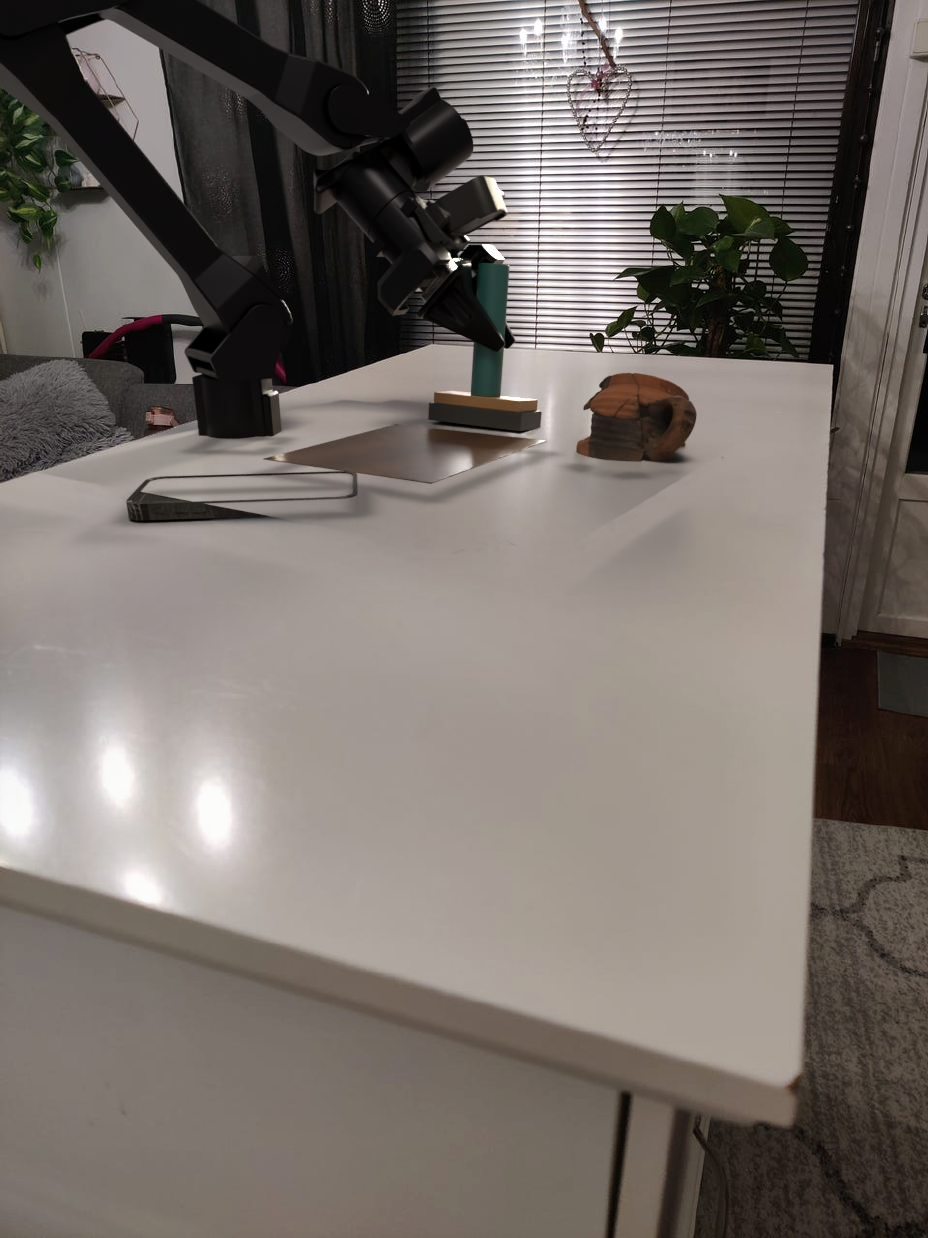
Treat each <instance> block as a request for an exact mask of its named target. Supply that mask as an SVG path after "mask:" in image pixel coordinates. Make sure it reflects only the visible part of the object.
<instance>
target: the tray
mask: <svg viewBox="0 0 928 1238" xmlns="http://www.w3.org/2000/svg"><path fill="white" fill-rule="evenodd" d="M545 442H547V440H545V439H544V440H543V439H536V438H526V437H517V436H509V435H499V434H488V433H481V432H480V433H479V432H471V431H463V430H454V429H453V430H452V429H444V428H443V429H442V428H434V427H425V426H416V425H407V424H395V423H394V424H392V425H387V426H384V427H379V428H376V429H372V430H369V431H364V432H360V433H357V434H353V435H349V436H345V437H342V438H337V439H334V440H329V441H327V442H323V443H318V444H314V445H311V446H307V447H303V448H298V449H296V450H291V451H287V452H284V453H280V454H276V455H272V456H268V457H265V458H264V457H263V460H267V461H272V462H280V463H285V464H292V465H293V464H294V465H300V466H305V467H314V468H318V469H319V468H320V469H321V468H322V469H326V470H333V471H350V472H355V473H356V474H361V475H370V476H376V477H383V478H389V479H395V480H402V481H409V482H416V483H423V484H431V485H433V484H434V483H435V484H436V483H437V482H441V481H443V480H446V479H449V478H451V477H454V476H456V475H460V474H461V473H464V472H468V471H469V470H472V469H475V468H478V467H480V466H483V465H486V464H488V463H491V462H494V461H497V460H499V459H502V458H505V457H507V456H510V455H513V454H515V453H518V452H521V451H524V450H527V449H529V448H533V447H535V446H537V445H541V444H543V443H545Z"/></svg>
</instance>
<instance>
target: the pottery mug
mask: <svg viewBox="0 0 928 1238" xmlns="http://www.w3.org/2000/svg"><path fill="white" fill-rule="evenodd" d="M598 387H599V388H600V390H599V391H597V392H595V393H594V395H593V396H592V397H590V398H589V399H588V401H587V402H586V403H585V404H584V405H583V409H582V410H583V411H586V410H590V411H591V413H592V414H591V418H590V419H591V420H590V422H591V425H590V435H589V436H587V437H585V438H583V439H580V440H578V442H577V443H576V453H577V454H578V455H581V456H583V457H587V458H592V459H597V460H604V461H612V462H613V461H614V462H635V463H636V462H638V463H639V462H641V461H642V458H643V455H644V453H645V452H646V455H647V456H648V458H649V460H650V461H651V462H656V463H657V462H667V461H671V460H672V459H673V458H674V455H675V454H676V452H677V451H678V450H679V449H680V448H684V447H686V441H687V440H688V439H689V437H690V435H692V432H693V430H694V428H695V425H696V422H697V414H698V413H697V410H696V407H695V405H694V403H693V402H692V401H691V400H690V396H689V394H688V393H687V391H685V390H684V389H683V388H682V387H681V386H679V385H678V384H676V383H675V382H673V381H670V380H667V379H664V378H661V377H658V376H655V375H650V374H645V373H640V372H639V373H638V372H633V373H632V372H619V373H615V374H612V375H608V376H605V377H604V378H603V379H602V381H600V383H599V384H598Z"/></svg>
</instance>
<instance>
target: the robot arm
mask: <svg viewBox="0 0 928 1238" xmlns="http://www.w3.org/2000/svg"><path fill="white" fill-rule="evenodd" d="M106 20H108V21H109V22H110V21H111V22H113V23H114V24H117V25H119V26H120V27H122V28H124V29H125V30H127V31H128V32H131V33H132V34H134V35H136V36H138V37H139V38H141V39H142V40H145V41H147V42H148V43H150V44H151V45H153V46H154V47H156V48H158V49H159V50H162V51H164V52H165V53H167V54H169V55H170V56H172V57H174V58H176V59H178V60H179V61H181V62H182V63H184V64H186V65H188V66H190V67H191V68H193V69H195V70H197V71H198V72H200V73H202V74H204V75H205V76H207V77H209V78H211V79H212V80H213V81H216V82H218V83H219V84H221V85H223V86H225V87H226V88H228V89H230V90H231V91H233V92H234V93H236V94H238V95H240V96H242V97H243V98H245V99H246V100H248V101H249V102H250V103H252V104H253V105H254V106H255V107H256V108H257V109H259V111H260V112H261V113H262V114H263V115H264V116H265V117H266V119H268V121H269V122H270V123H271V125H272V126H273V127H274V128H276V129H277V130H278V131H279V132H280V133H282V135H284V136H286V137H287V138H288V139H289V140H290V141H291V142H293V144H295V145H296V146H297V147H299V148H300V149H301V150H302V151H305V152H306V153H308V154H311V155H314V156H319V157H323V156H328V155H332V154H337V153H341V152H344V151H349V150H352V149H355V148H358V147H362V146H366V145H370V144H374V143H378V142H379V143H378V144H377V145H375V147H373V148H371V149H369V150H366V151H364V152H360V151H354V152H352V153H351V154H350V155H348V156H347V157H346V158H344V159H343V160H342V161H340V162H338V164H336V165H335V166H333V167H330V168H323V169H322V168H315V169H314V170H313V181H312V183H313V184H312V185H313V187H314V201H313V204H314V205H313V210H314V212H315V213H316V214H318V215H321V214H323V213H324V212H325V211H326V210H328V209H329V208H331V207H332V206H333V205H334V204H336V203H337V204H338V205H339V206H340V207H341V208H342V210H344V212H346V214H347V215H348V216H349V217H350V219H352V220H353V222H354V223H355V224H356V225H357V226H358V227H359V228H360V230H361V231H362V232H363V233H364V235H366V237H367V238H368V239H369V240H370V241H371V242H372V243H371V245H369V247H368V250H370V251H371V253H372V254H373V255H374V256H375V257H377V258H386V259H387V260H388V261H389V263H390V264H391V265H390V267H389V268H388V269H387V270H386V272H385V273H384V274H383V275H382V277H381V278H380V279H379V280H378V281H377V283H376V284H377V300H378V301H379V302H380V303H381V304H382V306H383V307H384V308H385V309H386V310H387V311H388V312H389V313H390V314H391V316H392V317H394V316H400V315H406V313H407V312H408V311H409V309H410V308H409V305H408V302H407V300H408V299H409V298H410V297H411V296H412V295H413V294H414V293H415V292H422V294H421V295H420V298H421V299H422V300H423V301H424V302H425V303H424V304H423V305H422V306H421V307H420V308H419V309H418V310H417V312H416V313H415V315H416V317H417V318H419V319H420V320H425V321H428V322H430V323H431V324H434V325H437V326H439V327H442V328H443V329H446V330H448V331H450V332H453V333H455V334H457V335H459V336H461V337H463V338H466V339H468V340H470V341H471V342H473V343H474V342H476V343H478V344H480V345H482V346H485V347H487V348H489V349H491V350H493V351H495V352H499V351H500V350H501V349H502V348H503V347H504V349H506V350H508V349H510V348H511V347H513V345H514V344H515V343H516V338H515V335H514V334H513V332H512V329H511V328H510V325H509V324H508V322H507V321H506V325H505V339H503V338H502V336H501V334H500V333H499V331H498V329H497V328H496V326H495V325H494V323H493V322H492V320H491V319H490V317H489V315H488V314H487V312H486V311H485V309H484V308H483V306H482V305H481V303H480V302H479V300H478V299H477V297H476V294H477V278H478V264H479V263H493V264H504V262H505V260H506V259H505V258H504V256H502V254H501V253H500V252H499V251H498V249H496V247H495V246H494V245H493V244H470V242H471V241H472V240H471V239H470V238H469V236H468V235H469V234H471V233H474V232H475V231H477V230H479V229H481V228H482V227H484V226H486V225H488V224H490V223H492V222H493V221H495V222H498V221H500V220H502V219H503V218H506V217H507V216H508V215H509V212H508V210H507V207H506V204H505V202H504V200H505V198H506V194H505V192H504V191H503V190H501V189H500V188H499V187H498V184H497V181H496V179H495V177H490V176H487V175H478V176H476V177H474V178H472V179H470V180H468V181H466V182H463V184H461V185H459V186H458V187H456V188H454V189H453V190H450V191H449V192H448V193H445V194H443V195H442V196H440V197H439V198H438V199H436V200H434V199H433V200H432V199H424V198H423V199H422V198H421V197H420V196H419V195H418V193H417V192H419V193H426V192H427V191H429V190H430V189H431V188H433V187H434V186H435V185H436V184H438V183H439V182H440V181H441V180H443V179H445V177H446V176H448V175H449V174H450V173H452V172H453V171H454V170H456V169H457V168H459V167H460V166H461V165H462V164H464V163H465V162H466V161H468V160H469V159H470V158H471V157H472V156H473V154H474V149H475V148H474V139H473V135H472V132H471V129H470V126H469V124H468V122H467V120H466V118H463V117H462V116H461V115H460V112H458V111H457V109H456V108H455V107H454V106H453V105H451V104H450V103H449V102H447V101H446V100H444V99H442V97H441V95H440V93H439V90H438V89H437V87H435V86H433V87H430V88H426V89H424V90H422V91H421V92H420V93H419V92H418V94H417V95H415V96H414V98H413V99H412V100H411V102H409V103H408V104H407V105H406V106H404V107H403V108H401V109H400V110H399V111H397V110H395V109H393V108H392V107H390V106H388V105H387V104H385V103H383V102H381V101H380V100H378V99H376V98H374V97H373V96H370V95H369V90H368V88H367V87H366V85H365V84H364V82H363V81H362V80H360V79H359V78H358V77H357V76H356V75H354V74H353V73H351V72H348V71H346V70H344V69H341V68H339V67H336V66H334V65H331V64H329V63H326V62H325V61H321V60H319V59H317V58H316V59H315V58H312V57H308V56H303V55H299V54H295V53H291V52H288V51H286V50H282V49H281V48H278V47H275V46H273V45H272V44H270V43H268V42H267V41H265V40H263V39H262V38H260V37H259V36H257V35H256V34H254V33H252V32H251V31H249V30H248V29H246V28H244V27H243V26H241V25H240V24H238V23H236V22H235V21H233V20H232V19H231V18H228V17H227V16H226V15H224V14H222V13H221V12H219V11H217V10H216V9H214V8H212V7H211V6H210V5H208V4H206V3H205V2H203V1H201V0H0V88H2V89H3V91H5V92H6V93H8V95H10V96H11V97H13V98H14V99H16V100H17V101H18V102H19V103H21V104H22V105H24V106H25V107H26V108H27V109H29V110H30V111H31V112H33V113H34V114H36V115H37V116H38V117H39V118H41V119H42V120H43V121H45V123H47V125H49V126H50V128H51V129H52V130H53V131H54V132H55V133H56V134H57V135H58V137H59V138H60V139H61V141H63V142H64V144H65V145H66V146H67V147H68V149H70V151H71V152H72V153H73V154H74V156H75V157H76V158H77V159H78V161H80V162H81V164H82V165H83V166H84V167H85V169H86V170H87V171H88V172H89V173H90V174H91V175H92V176H93V178H94V179H95V180H96V181H97V183H98V184H99V185H100V186H101V187H102V188H103V190H104V191H105V192H106V193H107V194H108V195H109V196H110V198H111V199H112V200H113V201H114V203H116V205H117V206H118V207H119V208H120V209H121V211H122V212H123V213H124V214H125V215H126V216H127V218H128V219H129V221H131V222H132V224H134V226H135V227H136V228H137V230H138V231H139V232H140V233H141V234H142V236H143V237H145V239H146V240H147V241H148V243H150V245H151V246H152V247H153V248H154V249H155V251H157V253H158V254H159V255H160V256H161V258H162V259H163V260H164V261H165V262H166V264H167V265H168V266H169V267H170V269H172V270H173V272H174V273H175V274H176V275H177V277H178V279H179V281H180V282H181V284H182V287H183V288H184V290H185V293H186V296H187V297H188V299H189V301H190V304H191V306H192V308H193V310H194V311H195V313H196V315H197V316H198V318H199V319H200V321H201V323H202V324H203V326H202V328H201V329H200V330H199V331H198V333H197V334H196V335H195V337H194V338H193V339H192V340H191V341H190V342H189V343H188V345H187V346H186V347H185V348H184V355H185V357H186V360H187V361H188V364H189V365H190V368H191V369H192V372H194V373H196V374H198V375H195V376H192V377H191V380H192V388H193V398H194V406H195V415H196V423H197V429H198V430H197V432H198V436H199V437H200V436H201V437H208V438H212V439H220V440H221V439H223V440H238V439H239V440H240V439H251V438H265V437H274V436H277V435H278V434H279V433H281V432H283V431H282V430H283V429H282V417H281V416H282V415H281V406H280V395H279V393H280V392H278V391H277V390H274V389H273V378H274V376H275V372H276V369H277V368H276V367H277V364H278V360H279V355H280V354H281V353H282V352H283V351H284V350H285V349H286V347H287V346H288V345H289V342H290V340H291V336H292V335H293V331H292V330H293V322H294V319H293V316H292V312H291V310H290V309H289V307H288V305H287V304H286V302H285V301H284V300H283V299H286V298H288V297H289V294H288V292H286V291H284V290H283V289H281V288H279V286H278V285H277V284H276V283H274V282H273V280H272V278H271V277H270V275H269V273H268V272H267V270H266V268H265V266H264V264H263V263H262V262H261V260H260V259H259V257H257V255H235V256H234V255H233V256H231V255H229V254H228V253H227V252H226V251H224V250H223V248H221V247H220V246H219V245H218V244H217V243H216V241H215V240H214V239H213V238H212V237H211V235H210V233H208V232H207V230H206V229H205V227H203V225H202V224H201V223H200V222H199V220H198V219H197V218H196V217H195V215H194V214H193V212H191V210H190V208H189V207H187V205H186V203H185V202H184V201H183V200H182V199H181V198H180V196H179V195H178V194H177V193H176V191H175V190H174V189H173V188H172V187H171V185H170V184H169V182H168V181H167V180H166V179H165V178H164V177H163V175H162V174H161V172H159V170H158V169H157V168H156V167H155V165H154V164H153V163H152V162H151V160H150V159H149V157H147V155H146V154H145V153H144V152H143V150H142V148H140V146H139V145H138V144H137V143H136V142H135V140H134V139H133V138H132V136H130V134H129V133H128V131H127V130H126V129H125V128H124V127H123V125H122V124H121V123H120V122H119V120H118V119H117V118H116V117H115V115H114V114H113V113H112V111H111V110H110V108H108V107H107V105H106V104H105V103H104V101H103V100H102V99H101V98H100V97H99V95H98V94H97V93H96V91H95V90H94V89H93V88H92V86H91V85H90V83H89V80H88V79H87V77H86V75H85V73H84V71H83V69H82V67H81V64H80V62H79V60H78V58H77V56H76V54H75V51H74V50H73V47H72V45H71V43H70V41H69V39H68V36H69V35H71V34H74V33H76V32H78V31H80V30H83V29H85V28H88V27H90V26H92V25H95V24H98V23H101V22H103V21H106ZM460 252H461V253H460ZM459 253H460V254H459Z"/></svg>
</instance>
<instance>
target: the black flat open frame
mask: <svg viewBox="0 0 928 1238" xmlns="http://www.w3.org/2000/svg"><path fill="white" fill-rule="evenodd" d="M320 474H321V475H322V474H323V475H324V474H346V475H351V476H352V492H351V493H350V494H347V495H342V496H341V495H340V496H320V497H319V496H318V497H292V498H291V497H290V498H260V499H230V500H229V499H228V500H197V501H192V500H188V499H181V498H176V497H170V496H165V495H161V494H160V495H159V494H155V493H150V492H145V491H143V490H144V488H145V487H147V485H148V484H149V483H151V482H152V481H153V482H154V481H157V480H163V479H164V480H165V479H191V478H194V479H195V478H222V477H223V478H226V477H228V478H229V477H256V476H259V477H260V476H261V477H262V476H287V475H288V476H289V475H290V476H291V475H294V476H295V475H320ZM357 496H358V473H355V472H350V471H340V470H333V471H331V470H329V471H297V472H266V473H261V472H260V473H235V474H233V473H231V474H230V473H229V474H228V473H227V474H200V475H197V474H196V475H166V476H164V475H163V476H155V477H149V478H147V479H145V480H144V481H143V482H142V483H141V484H140V485H139V486H138V487H137V488H136V489H135V490H134V491H133V492H132V493H131V494H130V496H129V497H128V498H127V499H126V501H125V502H126V510H127V516H128V518H129V519H130V520H132V521H133V520H134V521H163V520H164V521H165V520H166V521H167V520H193V519H194V520H196V519H197V520H198V519H220V518H223V519H225V518H251V517H254V518H255V517H269V515H267V514H261V513H257V512H252V511H251V512H250V511H246V510H240V509H234V508H229V507H224V506H220V505H219V506H218V505H215V504H228V503H229V504H230V503H261V502H262V503H264V502H285V501H286V502H287V501H288V502H290V501H293V502H294V501H320V500H324V501H325V500H344V499H351V498H354V497H357ZM213 504H214V505H213Z"/></svg>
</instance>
